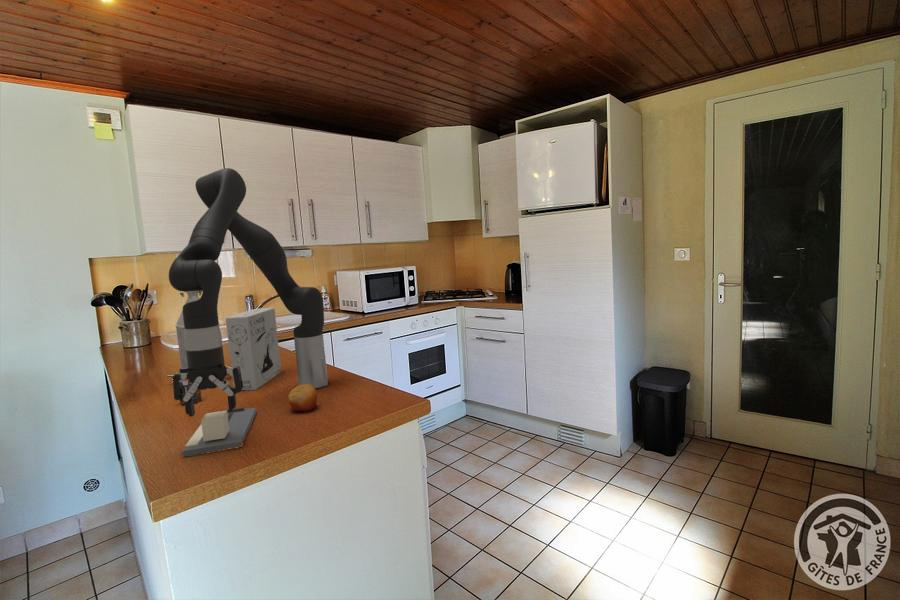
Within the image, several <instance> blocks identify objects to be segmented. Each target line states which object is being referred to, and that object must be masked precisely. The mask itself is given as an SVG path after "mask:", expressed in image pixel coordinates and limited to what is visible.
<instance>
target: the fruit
mask: <svg viewBox="0 0 900 600" xmlns="http://www.w3.org/2000/svg"><path fill="white" fill-rule="evenodd" d="M317 400H318V393H317V390H316V388H314V387H313V386H312V385H310V384H304V385H299V384H298V385H297V386H296V387H294V388H293V389H291V391H289V393H288V394H287V403H288V404H289V406H290V407H291V408H292V410H293V411H295V412H296V411H297V412H308V411H312V410H313V409H315V408H316V407H317Z"/></svg>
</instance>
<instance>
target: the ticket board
mask: <svg viewBox="0 0 900 600" xmlns="http://www.w3.org/2000/svg"><path fill="white" fill-rule="evenodd" d="M220 411H227V415H228V423H229V432H228V433H227V435H226V437H225V438H222V439H216V440H210V441H204V440H203V432H202V424H201V423H200V425H199V426H198V428H196V431H195V432H194V433H193V434H192V436H191V437H190V439H189V440H188V441H187V442H186V444H185V445H184V446H185V447H184V448H183V450H182V457H183V458H186V457H185V456H188V457H192V456H191V455H194V456H197V455H196V454H201V455H203V454H202V453H207V452H213V451H218V450H223V449H228V448H235V447H240V446H241V445H242V443H243V441H244V439H245V440H246V438H247V436H246V434H247V432H248V433H249V431H250V429H251V427H252V425H251V424H253V422H254V420H255V418H254V417H256V416H255V415H257V412H258V411H257V407H252V408H251V407H250V408H245V407H243V406H242V407H235V408H234V410H233V411H229V408H228V409H222V410H220ZM253 419H254V420H253ZM252 421H253V422H252ZM250 426H251V427H250ZM249 428H250V429H249ZM248 430H249V431H248ZM247 435H248V434H247ZM245 437H246V438H245ZM244 442H245V441H244ZM243 444H244V443H243ZM242 446H243V445H242ZM213 453H214V452H213ZM207 454H208V453H207Z"/></svg>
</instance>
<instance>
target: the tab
mask: <svg viewBox="0 0 900 600" xmlns="http://www.w3.org/2000/svg"><path fill="white" fill-rule="evenodd" d="M201 424H202V432H203V440H204V441H210V440H216V439H222V438H225V437H226V435H227V433H228V432H229V423H228V415H227V411H221V410H220V411H214V412H207V413H205V414H204V416H203V417H202V418H201V420H200V425H201Z"/></svg>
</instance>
